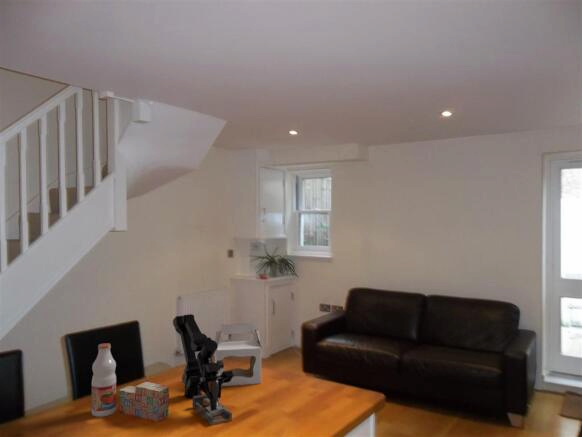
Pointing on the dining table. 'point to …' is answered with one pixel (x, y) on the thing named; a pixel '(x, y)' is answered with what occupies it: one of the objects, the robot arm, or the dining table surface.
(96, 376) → the fruit juice
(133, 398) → the stack of blocks
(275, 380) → the dining table surface
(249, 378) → the gable box
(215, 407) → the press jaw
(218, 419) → the press base
